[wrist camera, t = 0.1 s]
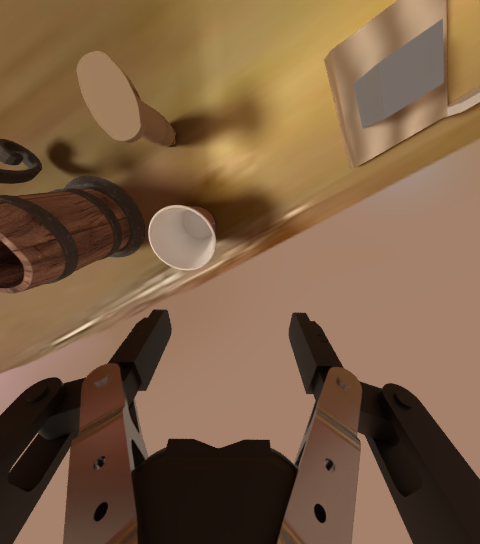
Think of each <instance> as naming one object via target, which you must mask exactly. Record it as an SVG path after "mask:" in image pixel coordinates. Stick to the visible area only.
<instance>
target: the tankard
mask: <svg viewBox="0 0 480 544" xmlns="http://www.w3.org/2000/svg"><path fill="white" fill-rule="evenodd" d="M0 161H1V162H3V163H5V164H8V165H18V164H20V163H21V162H23V163H24V164H25V165H26V166H27V167H28V169H27V170H22V171H13V170H3V169H0V183H9V184H14V183H23V182H27V181H30V180H32V179H33V178H34V177H35V176H36V175H37V174H38V173H39V172H40V171H41V170H42V164H41V162H40V161H39V159H38V158H37V157H36V156H35V155H34V154H33V153H32V152H31V151H29V150H28V149H26V148H24V147H23V146H21V145H19V144H17V143H15V142H13V141H9V140H6V139H0ZM144 237H145V225H144V220H143V217H142V214H141V212H140V210H139V208H138V207H137V205H136V204H135V202H134V201H133V200H132V198H131V197H130V196H129V195H128V194H127V193H126V192H125V191H124V190H122V189H121V188H120V187H118V186H117V185H116V184H114V183H112V182H110V181H108V180H105V179H102V178H99V177H94V176H83V177H79V178H76V179H73V180H72V181H71V182H69V183H68V184H67V185H66V187H65V188H64V189H58V190H54V191H51V192H49V193H39V194H29V195H20V196H9V195H0V292H3V293H18V292H22V291H25V290H28V289H31V288H34V287H37V286H40V285H43V284H51V283H54V282H57V281H59V280H61V279H63V278H65V277H67V276H69V275H71V274H72V273H73V272H74V271H76V270H78V269H80V268H82V267H84V266H86V265H88V264H91V263H93V262H95V261H97V260H101V259H105V258H107V257H125V256H129V255H131V254H133V253H135V252H136V251H137V250H138V249H139V248H140V246H141V245H142V243H143V240H144Z"/></svg>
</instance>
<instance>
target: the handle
mask: <svg viewBox="0 0 480 544" xmlns="http://www.w3.org/2000/svg"><path fill="white" fill-rule="evenodd" d="M76 71H77V76H78V80H79V85H80V89H81V92H82V95H83V98H84V100H85V102H86V104H87V106H88V108H89V110H90V111H91V113H92V115H93V117H94V118H95V120H96V121H97V123H98V124H99V125H100V126H101V127H102V128H103V129H104V130H105V131H106V132H107V133H108V134H109V135H110V136H111V137H112V138H113V139H115V140H118V141H121V142H126V143H130V142H134V141H137V140H138V139H140V138H141V137H143V138H144V139H146V140H147V141H149V142H151V143H153V144H156V145H159V146H164V147H170V145H174V144H175V143H176V142H175V135H176V132H175V130H174V129H173V128H172V127H171V125H170V124H169V122H168V121H167V120H166V119H165V118H164V117H163V116H162V115H161V114H160V113H159V112H157V111H156V110H155V109H153V108H151V107H150V106H148V105H147V104H145V103H144V102H142V101H141V99H140V96H139V94H138V92H137V91H136V89H135V87H134V85H133V84H132V82H131V80H130V79H129V78H128V77H127V76H126V74H125V73H124V72H123V71H122V70H121V69H120V68H119V67H118V66H117V64H116V63H115V62H114V61H113V60H112V59H111V58H110V57H109V56H108V55H107V54H106V53H103V52H98V51H94V52H90V53H88V54H86V55H85V56H83V57H82V58H81V60H80V61H79V63H78V66H77V70H76Z"/></svg>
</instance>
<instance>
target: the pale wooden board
mask: <svg viewBox="0 0 480 544" xmlns="http://www.w3.org/2000/svg"><path fill="white" fill-rule="evenodd" d="M441 19H443V55H444V83H443V84H441V85H440V86H438V87H436V88H435V89H433V90H431V91H430V92H428V93H426V94H425V95H423V96H422V97H420V98H418V99H417V100H415V101H413V102H412V103H410V104H409V105H407V106H405V107H404V108H402V109H400V110H399V111H397V112H395V113H394V114H392V115H391V116H389V117H387V118H386V119H384V120H381V121H379V122H377V123H374V124H372V125H370V126H367V127H365V128H363V129H362V125H361V119H360V114H359V109H358V104H357V99H356V94H355V88H354V83H355V82H357V81H358V80H359V79H360V78H361V77H362V76H364V75H365V74H366V73H367V72H368V71H369V70H371V69H372V68H373V67H374V66H375V65H376V64H378V63H379V62H380V61H382V60H383V59H385V58H386V57H388V56H389V55H391V54H392V53H393V52H395V51H396V50H398V49H399V48H401V47H402V46H404V45H405V44H407V43H408V42H409V41H411V40H412V39H414V38H415V37H417V36H418V35H420V34H421V33H422V32H424V31H425V30H427V29H428V28H430V27H431V26H433V25H434V24H436V23H437V22H438V21H440V20H441ZM324 61H325V65H326V69H327V73H328V77H329V81H330V86H331V90H332V94H333V98H334V102H335V106H336V111H337V115H338V119H339V123H340V127H341V132H342V136H343V140H344V144H345V148H346V152H347V157H348V161H349V165H350V168H353V167H358V166H359V165H361V164H363V163H365V162H366V161H368V160H370V159H372V158H373V157H375V156H377V155H379V154H380V153H382V152H384V151H386V150H387V149H389V148H391V147H393V146H394V145H396V144H398V143H400V142H401V141H403V140H405V139H407V138H408V137H410V136H412V135H414V134H415V133H417V132H419V131H421V130H422V129H424V128H426V127H428V126H429V125H431V124H433V123H435V122H436V121H438V120H440V119H442V118H443V117H445V116H447V115H448V102H447V19H446V0H397V1H396V2H395V3H393V4H392V5H391V6H389V7H388V8H387V9H385V10H384V11H383V12H381V13H380V14H379V15H377V16H376V17H375V18H373V19H372V20H371V21H369V22H368V23H367V24H365V25H364V26H363V27H361V28H360V29H359V30H357V31H356V32H355V33H353V34H352V35H351V36H349V37H348V38H347V39H345V40H344V41H343V42H341V43H340V44H339V45H337V46H336V47H335V48H334V49H332V50H331V51H330V52H329V54H328V55H327V57H326V58H325V59H324Z"/></svg>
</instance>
